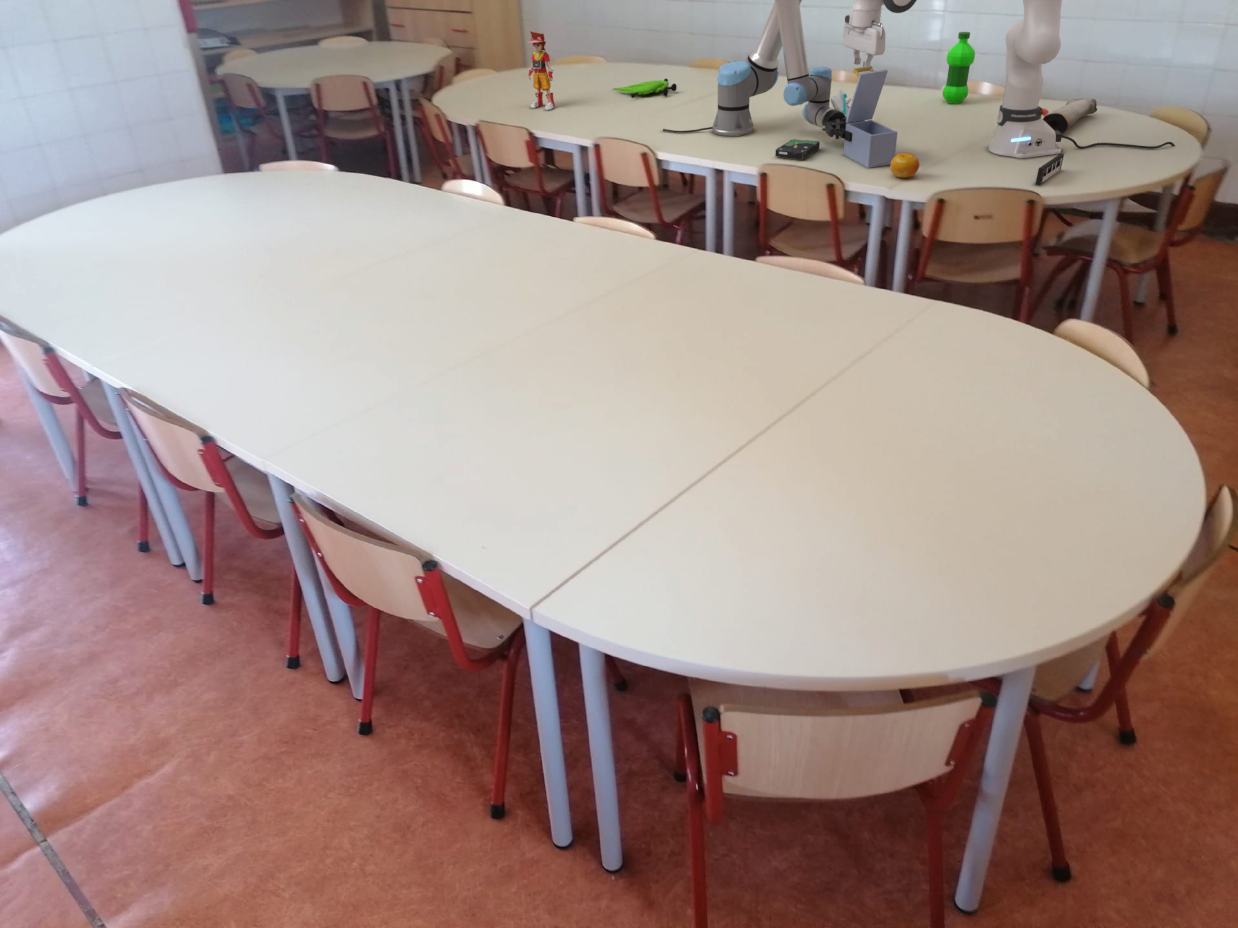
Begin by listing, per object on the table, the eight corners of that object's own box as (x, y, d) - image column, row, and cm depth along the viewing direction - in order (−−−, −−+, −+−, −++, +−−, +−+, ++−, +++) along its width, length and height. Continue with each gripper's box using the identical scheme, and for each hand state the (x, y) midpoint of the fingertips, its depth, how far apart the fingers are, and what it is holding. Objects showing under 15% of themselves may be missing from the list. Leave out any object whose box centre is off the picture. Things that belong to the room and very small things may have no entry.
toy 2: (686, 85, 398) (631, 84, 414) (685, 72, 395) (629, 72, 411) (651, 104, 381) (596, 103, 397) (650, 92, 378) (594, 91, 394)
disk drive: (803, 161, 302) (819, 149, 312) (803, 153, 300) (820, 140, 310) (774, 158, 306) (791, 146, 316) (775, 149, 305) (792, 137, 315)
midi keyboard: (1039, 185, 269) (1043, 168, 266) (1035, 184, 270) (1038, 168, 267) (1060, 170, 279) (1064, 154, 277) (1056, 169, 280) (1060, 153, 277)
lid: (887, 71, 286) (877, 57, 290) (861, 74, 284) (851, 60, 288) (872, 119, 301) (862, 105, 305) (846, 123, 299) (837, 109, 303)
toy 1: (525, 109, 381) (517, 32, 364) (534, 104, 388) (527, 28, 371) (550, 110, 377) (543, 32, 360) (559, 105, 384) (553, 28, 367)
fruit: (884, 168, 279) (900, 145, 276) (886, 170, 287) (902, 148, 284) (906, 183, 278) (923, 160, 275) (908, 185, 286) (924, 162, 283)
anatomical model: (825, 90, 346) (851, 83, 346) (828, 117, 352) (853, 110, 352) (836, 99, 334) (863, 92, 333) (839, 127, 340) (865, 120, 339)
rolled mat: (1064, 103, 333) (1089, 85, 324) (1077, 124, 333) (1102, 107, 325) (1032, 125, 315) (1057, 107, 307) (1046, 147, 316) (1072, 129, 307)
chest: (894, 164, 294) (897, 131, 288) (868, 168, 292) (871, 135, 286) (868, 151, 307) (871, 120, 301) (843, 154, 305) (846, 123, 300)
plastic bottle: (973, 101, 354) (984, 32, 339) (955, 106, 349) (966, 36, 335) (952, 97, 361) (962, 29, 346) (934, 102, 356) (944, 33, 342)
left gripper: (858, 127, 321) (892, 142, 304) (802, 135, 316) (833, 151, 299) (860, 105, 317) (895, 119, 299) (803, 113, 312) (835, 128, 294)
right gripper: (892, 22, 277) (887, 70, 284) (858, 14, 293) (854, 59, 301) (874, 25, 275) (870, 73, 283) (841, 16, 291) (837, 61, 299)
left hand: (864, 135), depth 299 cm, fingers closed on chest, 10 cm apart
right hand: (861, 66), depth 292 cm, fingers open, 4 cm apart
